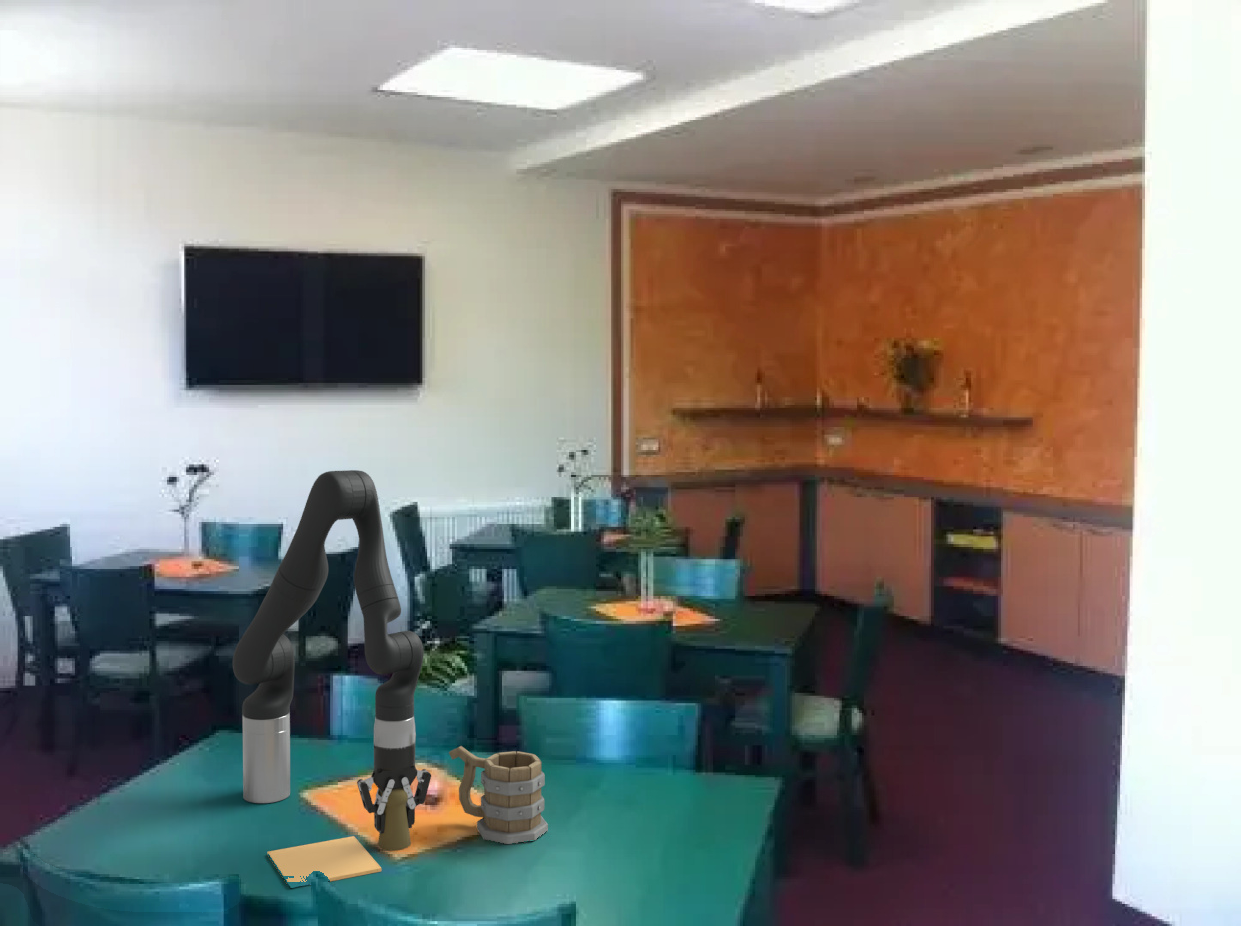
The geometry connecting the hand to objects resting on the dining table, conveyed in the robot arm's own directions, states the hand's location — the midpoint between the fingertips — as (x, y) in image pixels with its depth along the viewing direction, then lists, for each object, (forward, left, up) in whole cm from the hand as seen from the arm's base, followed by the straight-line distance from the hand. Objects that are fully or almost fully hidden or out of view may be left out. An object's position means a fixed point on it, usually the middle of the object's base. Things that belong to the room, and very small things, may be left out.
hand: (394, 829), depth 232 cm
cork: (0, 0, -3) cm, 3 cm away
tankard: (+1, +20, -3) cm, 20 cm away
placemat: (+2, -14, -3) cm, 15 cm away
